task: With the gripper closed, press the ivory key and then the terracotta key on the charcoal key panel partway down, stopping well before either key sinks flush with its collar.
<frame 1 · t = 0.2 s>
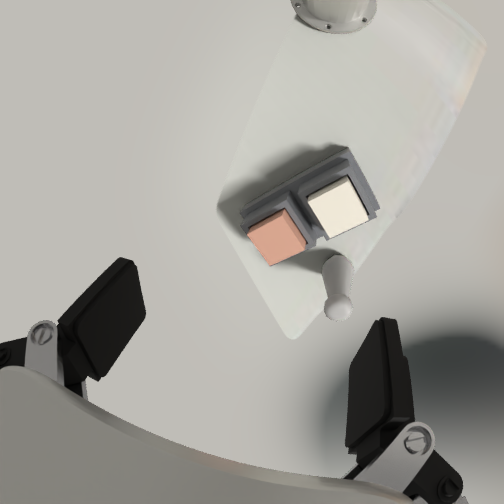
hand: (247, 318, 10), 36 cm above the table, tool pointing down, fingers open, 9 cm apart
salt shaker: (337, 263, 49), on the table
key panel: (309, 202, 45), on the table
terracotta key: (277, 236, 41), point 7 cm above the table, slide at 0.0 cm
ivory key: (338, 205, 36), point 7 cm above the table, slide at 0.0 cm
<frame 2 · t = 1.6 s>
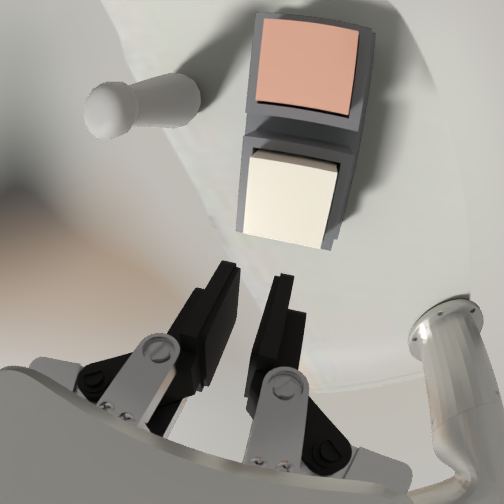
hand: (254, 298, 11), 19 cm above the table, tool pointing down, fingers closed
salt shaker: (184, 99, 26), on the table
key panel: (305, 124, 24), on the table
terracotta key: (308, 66, 16), point 7 cm above the table, slide at 0.0 cm
ivory key: (290, 196, 21), point 7 cm above the table, slide at 0.0 cm
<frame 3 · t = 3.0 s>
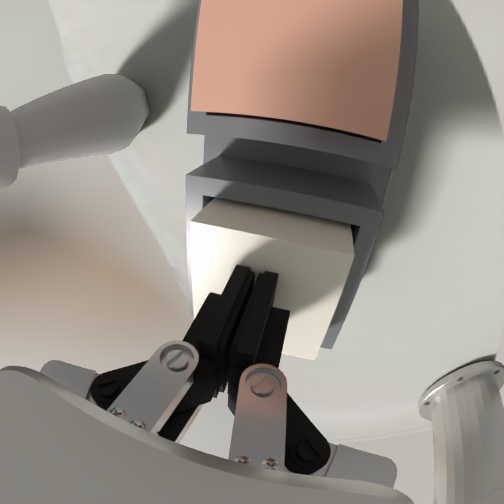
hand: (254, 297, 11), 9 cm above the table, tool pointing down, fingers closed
salt shaker: (129, 109, 17), on the table
key panel: (301, 142, 16), on the table
terracotta key: (301, 38, 7), point 7 cm above the table, slide at 0.0 cm
ivory key: (269, 276, 13), point 7 cm above the table, slide at 0.1 cm, touching gripper
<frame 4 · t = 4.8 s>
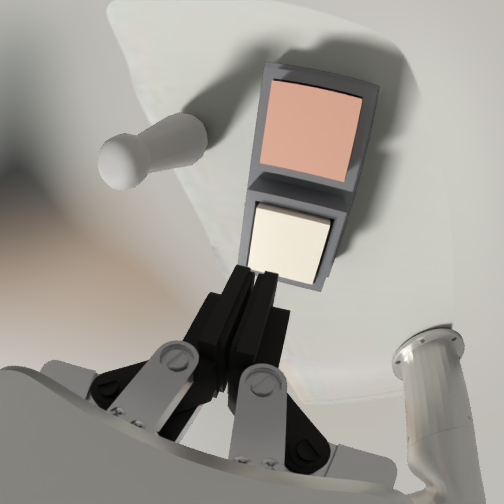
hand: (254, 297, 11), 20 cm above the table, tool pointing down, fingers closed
salt shaker: (191, 136, 28), on the table
key panel: (305, 169, 27), on the table
terracotta key: (311, 128, 18), point 7 cm above the table, slide at 0.0 cm
ivory key: (289, 238, 25), point 6 cm above the table, slide at 1.3 cm
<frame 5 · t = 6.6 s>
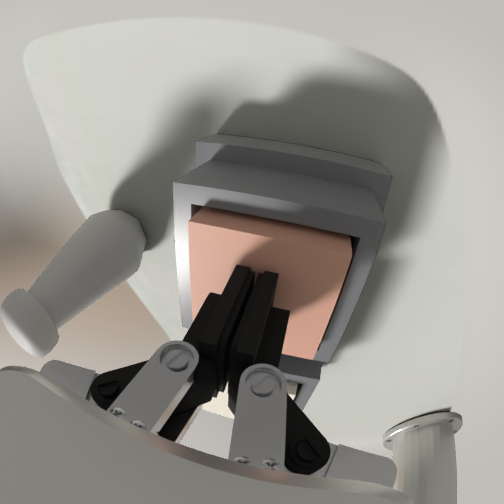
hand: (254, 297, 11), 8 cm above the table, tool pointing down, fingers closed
salt shaker: (128, 231, 22), on the table
key panel: (275, 282, 21), on the table
terracotta key: (267, 276, 13), point 6 cm above the table, slide at 1.1 cm, touching gripper
ivory key: (249, 384, 18), point 6 cm above the table, slide at 1.3 cm
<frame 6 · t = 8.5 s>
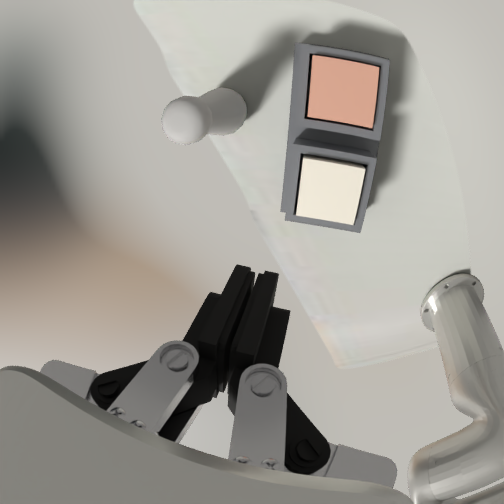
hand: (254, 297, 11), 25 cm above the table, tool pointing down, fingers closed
salt shaker: (228, 110, 31), on the table
key panel: (333, 132, 30), on the table
terracotta key: (342, 91, 22), point 6 cm above the table, slide at 1.3 cm
ivory key: (329, 186, 27), point 6 cm above the table, slide at 1.3 cm
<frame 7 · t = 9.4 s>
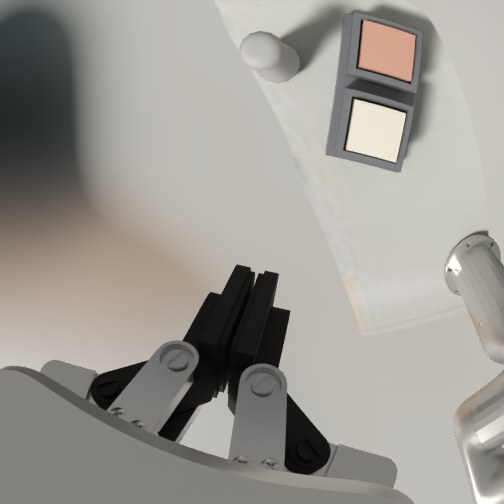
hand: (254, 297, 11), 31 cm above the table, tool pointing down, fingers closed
salt shaker: (280, 64, 31), on the table
key panel: (371, 91, 30), on the table
terracotta key: (385, 51, 22), point 6 cm above the table, slide at 1.3 cm
ivory key: (374, 129, 28), point 6 cm above the table, slide at 1.3 cm
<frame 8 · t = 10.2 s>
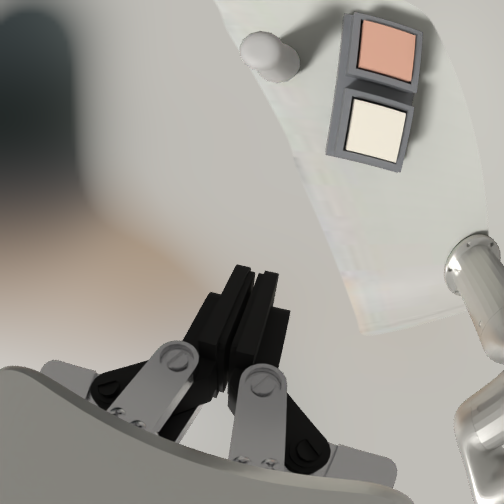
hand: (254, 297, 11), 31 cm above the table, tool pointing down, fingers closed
salt shaker: (280, 64, 31), on the table
key panel: (371, 91, 30), on the table
terracotta key: (385, 51, 22), point 6 cm above the table, slide at 1.3 cm
ivory key: (374, 129, 28), point 6 cm above the table, slide at 1.3 cm
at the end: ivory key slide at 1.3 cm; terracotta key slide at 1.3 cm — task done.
